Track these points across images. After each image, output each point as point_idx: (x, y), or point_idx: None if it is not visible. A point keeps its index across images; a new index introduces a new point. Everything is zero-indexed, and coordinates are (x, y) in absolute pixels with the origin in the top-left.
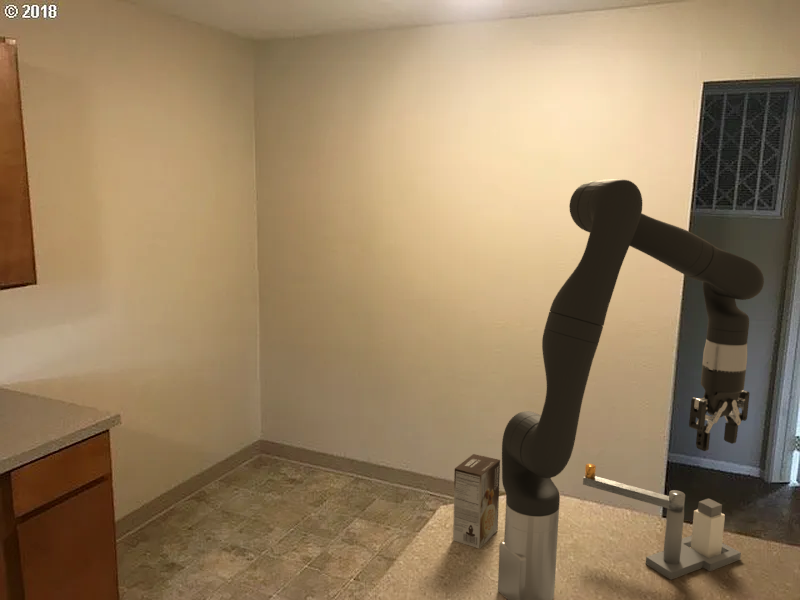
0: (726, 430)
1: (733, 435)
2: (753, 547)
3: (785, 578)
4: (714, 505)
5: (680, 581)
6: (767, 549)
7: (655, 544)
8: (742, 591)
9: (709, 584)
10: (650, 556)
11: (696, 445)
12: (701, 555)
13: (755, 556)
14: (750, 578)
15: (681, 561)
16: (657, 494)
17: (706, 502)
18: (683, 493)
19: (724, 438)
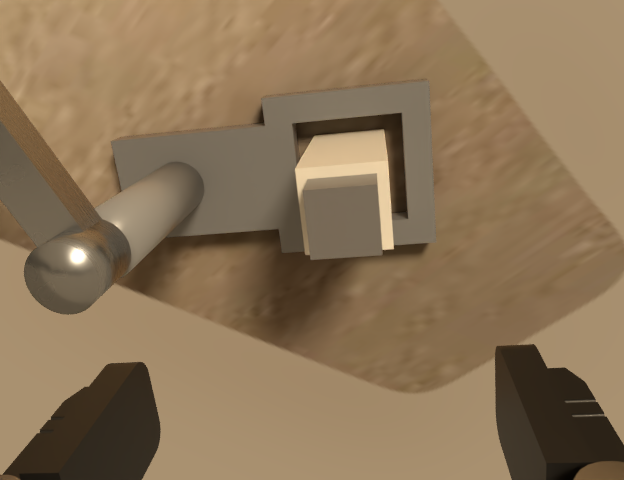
0: (519, 423)
1: (516, 476)
2: (548, 197)
3: (468, 351)
4: (341, 247)
5: (164, 247)
6: (581, 224)
7: (233, 48)
8: (295, 345)
9: (233, 289)
10: (125, 144)
11: (79, 393)
12: (294, 204)
13: (499, 239)
14: (371, 313)
15: (204, 206)
16: (25, 180)
17: (331, 210)
18: (94, 289)
19: (500, 353)
